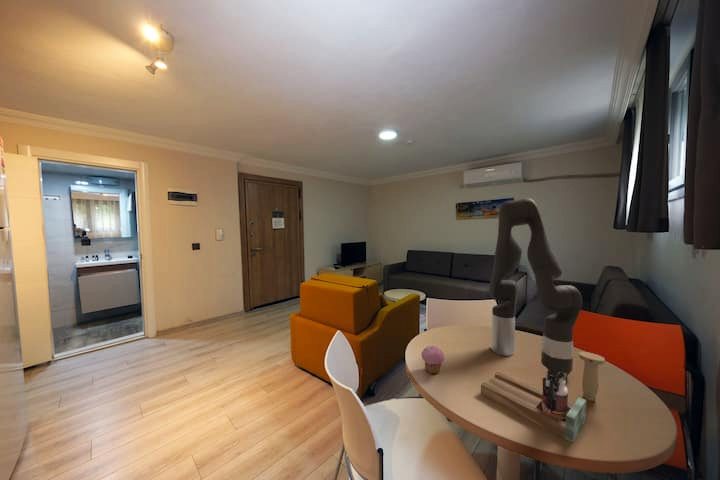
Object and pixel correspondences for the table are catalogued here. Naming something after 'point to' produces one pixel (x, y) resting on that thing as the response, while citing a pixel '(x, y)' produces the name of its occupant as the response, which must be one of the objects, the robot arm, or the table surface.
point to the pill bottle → (558, 403)
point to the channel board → (534, 405)
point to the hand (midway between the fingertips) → (554, 404)
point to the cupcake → (432, 358)
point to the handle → (590, 374)
